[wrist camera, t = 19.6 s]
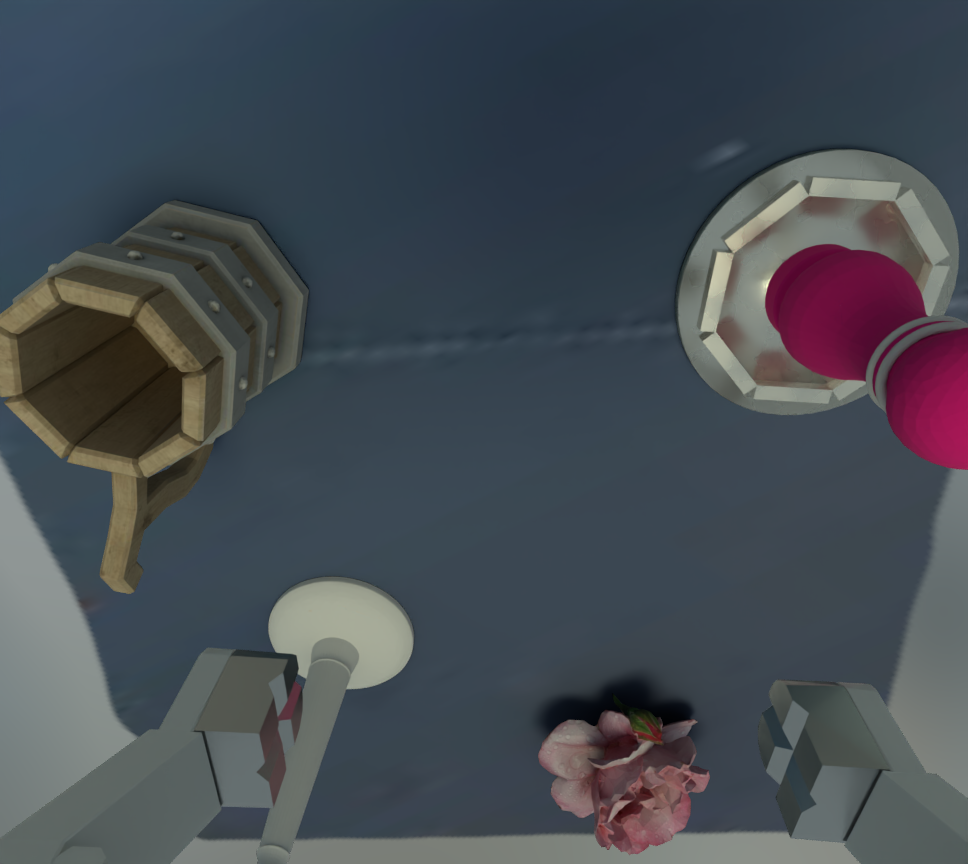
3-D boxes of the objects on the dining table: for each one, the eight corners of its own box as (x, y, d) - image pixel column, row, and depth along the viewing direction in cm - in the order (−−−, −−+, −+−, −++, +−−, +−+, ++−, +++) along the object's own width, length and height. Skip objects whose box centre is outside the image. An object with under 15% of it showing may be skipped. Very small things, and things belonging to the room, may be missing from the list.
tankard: (116, 184, 41) (-72, 231, 28) (316, 233, 42) (225, 301, 29) (124, 452, 50) (-15, 583, 37) (287, 487, 51) (209, 627, 38)
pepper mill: (835, 209, 39) (1100, 311, 22) (897, 294, 41) (1183, 450, 24) (733, 291, 42) (895, 443, 24) (796, 368, 44) (986, 558, 26)
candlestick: (314, 552, 54) (124, 998, 28) (441, 623, 57) (381, 1085, 31) (246, 641, 59) (31, 1090, 33) (366, 702, 62) (259, 1156, 36)
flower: (561, 819, 65) (597, 914, 56) (516, 705, 60) (546, 788, 51) (695, 758, 66) (753, 841, 57) (661, 642, 62) (717, 712, 52)
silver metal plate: (704, 140, 39) (713, 142, 37) (994, 157, 38) (1018, 160, 37) (654, 400, 47) (660, 413, 45) (894, 416, 46) (909, 429, 45)
